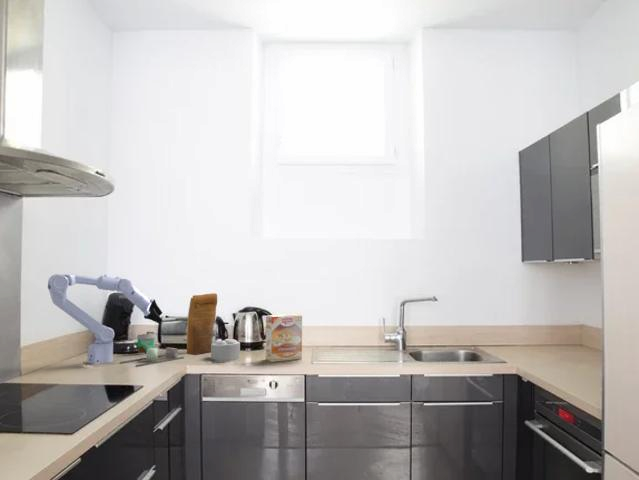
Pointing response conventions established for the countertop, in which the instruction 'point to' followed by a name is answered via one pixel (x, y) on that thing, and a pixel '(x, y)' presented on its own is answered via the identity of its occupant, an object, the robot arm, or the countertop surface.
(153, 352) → the tapered cylinder
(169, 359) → the track
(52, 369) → the countertop surface
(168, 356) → the brown piece
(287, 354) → the coffeecake box
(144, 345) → the food container
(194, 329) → the pancake mix bag
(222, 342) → the lumpy-topped squat cylinder
